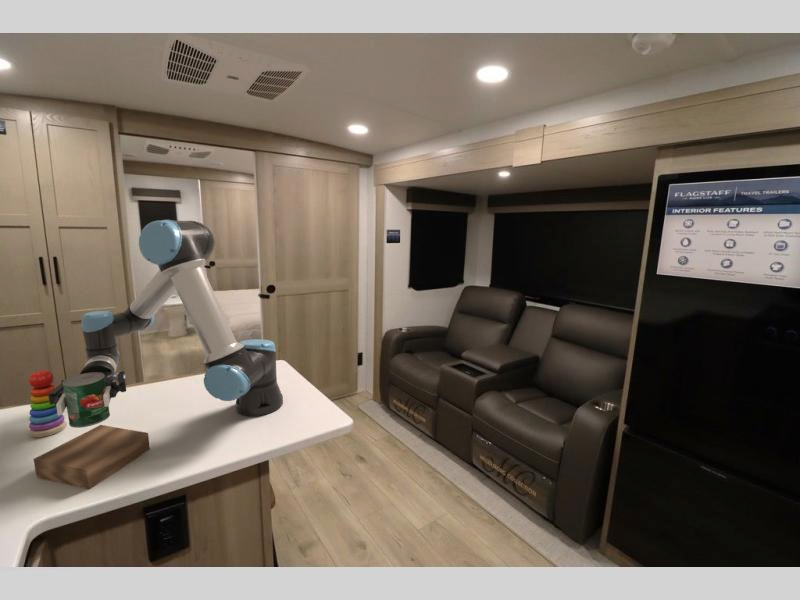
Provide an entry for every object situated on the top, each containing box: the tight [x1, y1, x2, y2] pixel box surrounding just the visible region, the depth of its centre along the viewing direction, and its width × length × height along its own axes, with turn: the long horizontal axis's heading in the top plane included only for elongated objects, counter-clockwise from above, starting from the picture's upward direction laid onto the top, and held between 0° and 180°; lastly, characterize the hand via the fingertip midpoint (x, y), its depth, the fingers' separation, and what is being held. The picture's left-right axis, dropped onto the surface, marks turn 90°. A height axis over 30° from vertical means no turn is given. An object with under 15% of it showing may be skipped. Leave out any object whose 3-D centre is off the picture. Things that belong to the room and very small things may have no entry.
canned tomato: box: [63, 372, 111, 429], centre depth 91 cm, size 8×8×11 cm
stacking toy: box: [28, 369, 67, 438], centre depth 106 cm, size 8×8×19 cm
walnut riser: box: [33, 424, 151, 490], centre depth 94 cm, size 16×16×5 cm
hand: (83, 405), depth 87 cm, fingers closed on canned tomato, 8 cm apart
